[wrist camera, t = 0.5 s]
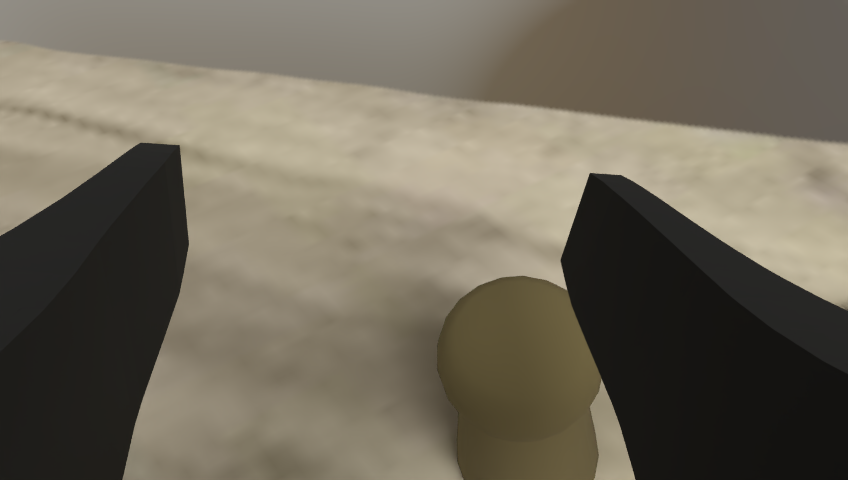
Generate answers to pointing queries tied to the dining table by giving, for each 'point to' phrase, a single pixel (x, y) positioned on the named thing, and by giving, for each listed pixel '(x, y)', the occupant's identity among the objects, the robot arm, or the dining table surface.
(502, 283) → the cork
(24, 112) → the dining table surface
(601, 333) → the robot arm
